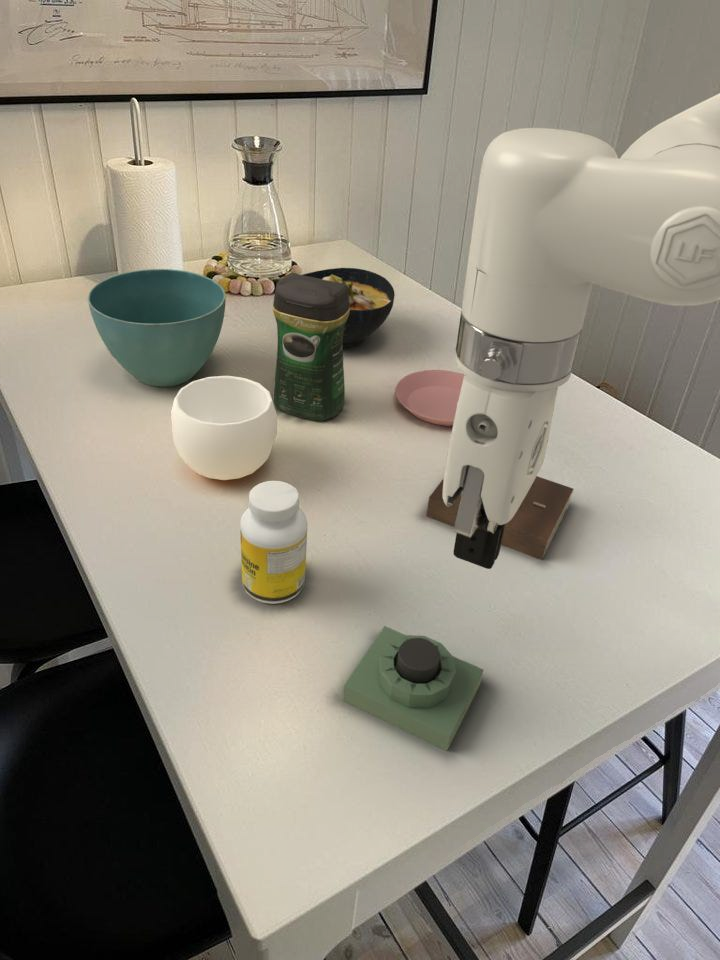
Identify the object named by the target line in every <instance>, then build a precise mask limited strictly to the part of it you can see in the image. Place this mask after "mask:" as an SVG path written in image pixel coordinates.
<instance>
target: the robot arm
mask: <svg viewBox="0 0 720 960" xmlns="http://www.w3.org/2000/svg"><path fill="white" fill-rule="evenodd" d="M479 172H480V173H479V179H478V186H477V193H476V200H475V208H474V215H473V222H472V229H471V236H470V244H469V251H468V258H467V267H466V272H465V273H466V274H465V281H464V287H463V293H462V303H461V311H460V318H459V325H458V331H457V339H456V345H455V352H454V363H455V365H456V367H457V369H458V370H460V372H461V373H462V374H464V378H463V383H462V387H461V391H460V395H459V400H458V402H457V409H456V414H455V418H454V423H453V426H452V429H451V432H450V433H451V434H450V438H449V444H448V449H447V454H446V461H445V467H444V474H443V478H444V481H443V501H444V503H445V504H446V506H447V507H450V506H451V505H453V504H454V502H455V501H456V499H457V498H458V496H459V495H460V493H461V501H460V505H459V509H458V513H457V517H456V522H455V526H454V527H453V532H454V533H456V535H455V541H454V546H453V556H454V557H456V558H457V559H460V560H462V561H465V562H468V563H470V564H473V565H476V566H479V567H482V568H484V569H487V570H491V569H492V568H493V567H494V564H495V562H496V560H497V559H498V558H499V555H500V551H501V546H502V545H501V543H502V538H503V533H504V529H505V524H506V523H507V522H509V521H510V520H511V519H512V518H513V516H514V515H515V513H516V512H517V510H518V508H519V507H520V505H521V503H522V501H523V500H524V498H525V496H526V494H527V493H528V491H529V489H530V487H531V486H532V484H533V482H534V480H535V478H536V476H538V474H539V473H540V470H541V469H542V466H543V464H544V461H545V457H546V453H547V447H548V442H549V437H550V432H551V427H552V421H553V417H554V411H555V406H556V401H557V396H558V389H559V387H562V386H563V385H565V384H566V383H567V382H568V381H569V379H570V378H571V375H572V372H573V367H574V363H575V361H576V355H577V351H578V348H579V343H580V339H581V335H582V331H583V326H584V322H585V318H586V314H587V309H588V306H589V301H590V298H591V294H592V289H593V285H595V286H600V287H603V288H606V289H610V290H612V291H616V292H618V293H622V294H625V295H629V296H632V297H635V298H639V299H642V300H644V301H648V302H653V303H656V304H661V305H667V306H675V307H691V306H692V307H693V306H701V305H706V304H710V303H713V302H717V301H719V300H720V92H719V93H717V94H715V95H714V96H711V97H709V98H707V99H705V100H703V101H701V102H699V103H697V104H695V105H693V106H691V107H689V108H687V109H685V110H683V111H681V112H679V113H677V114H675V115H673V116H672V117H670V118H668V119H665V120H664V121H662V122H660V123H658V124H656V125H655V126H654V127H652V128H651V129H649V130H647V131H646V132H645V133H643V134H642V135H641V136H639V138H637V139H636V140H635V141H634V142H633V143H632V144H630V146H628V148H627V149H626V150H625V151H624V153H622V155H621V156H620V158H619V157H618V154H617V152H616V151H615V149H614V148H613V147H612V145H610V144H609V143H607V141H604V140H602V139H600V138H598V137H596V136H593V135H590V134H586V133H583V132H579V131H574V130H567V129H560V128H551V127H550V128H547V127H524V128H516V129H512V130H508V131H504V132H502V133H501V134H498V136H496V137H495V138H493V140H492V141H490V143H489V144H488V146H487V148H486V150H485V152H484V155H483V157H482V161H481V167H480V171H479Z"/></svg>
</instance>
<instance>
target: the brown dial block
mask: <svg viewBox="0 0 720 960" xmlns="http://www.w3.org/2000/svg"><path fill="white" fill-rule="evenodd" d="M443 481H444V477H443V478H442V480H441V481H440V482H439V484H438V485H437V486H436V488H435V489H434V490H433V492H432V493H431V494H430V496H429V497H428V502H427V508H426V515H425V517H426V518H428V519H429V518H430V519H432V520H435V521H437V522H440V523H443V524H445V525H448V526H451V527H452V528H454V526H455V522H456V517H457V513H458V509H459V505H460V501H461V493H460V495H459V496H458V498H457V499H456V501H455V502H454V504H453V505H451V506H450V507H447V506H446V504H445V503H444V501H443ZM573 493H574V488H573V487H570V486H567V485H564V484H561V483H558V482H555V481H553V480H550V479H547V478H545V477H544V478H543V477H540V476H538V475H537V476H536V478H535V480H534V482H533V484H532V486H531V487H530V489H529V491H528V493H527V494H526V496H525V498H524V500H523V501H522V503H521V505H520V507H519V508H518V510H517V512H516V513H515V515H514V516H513V518H512V519H511V520H510V521H509V522H507V523H506V524H505V529H504V533H503V538H502V543H501V546H503V547H506V548H509V549H511V550H514V551H517V552H518V553H519V552H520V553H521V554H524V555H527V556H530V557H533V558H535V559H538V560H540V561H542V560H543V559H544V557H545V555H546V552H547V551H548V549H549V547H550V545H551V543H552V541H553V538H554V536H555V535H556V532H557V531H558V529H559V527H560V525H561V522H562V521H563V519H564V517H565V514H566V512H567V511H568V508H569V505H570V502H571V499H572V495H573Z"/></svg>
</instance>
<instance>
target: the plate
mask: <svg viewBox="0 0 720 960" xmlns="http://www.w3.org/2000/svg"><path fill="white" fill-rule="evenodd" d="M463 378H464V373H462V372H457V371H452V370H445V369H428V370H427V369H426V370H420V371H416V372H412V373H410V374H407V375H405V376H404V377H402V378H401V379H400V380H399V381H398V382H397V383H396V386H395V387H394V388H395V389H394V392H395V393H394V394H395V396H396V399H397V400H398V402H399V403H400V404H401V405H402V406H403V407H404V408H405V409H406V410H408V411H409V412H410V413H411V414H412V415H413V416H415V417H416V418H418V419H420V420H422V421H424V422H426V423H429V424H433V425H437V426H442V427H443V426H444V427H453V423H454V418H455V414H456V409H457V402H458V400H459V395H460V391H461V387H462V383H463Z"/></svg>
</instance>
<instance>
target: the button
mask: <svg viewBox="0 0 720 960" xmlns="http://www.w3.org/2000/svg"><path fill="white" fill-rule="evenodd" d="M439 662H440V652H439V650H438V648H437V647H436V646H435V645H434V644H433V643H432V642H430V641H428V640H426V639H423V638H412V639H408V640H406V641H405V642H403V643H402V644H401V646H400V648H399V651H398V658H397V670H398V672H399V674H400V675H401V676H402V677H403V678H404V679H406V680H408V681H410V682H413V683H426V682H429V681H431V680H432V679H433V678H434V677H435V676H436V674H437V671H438V667H439Z"/></svg>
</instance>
